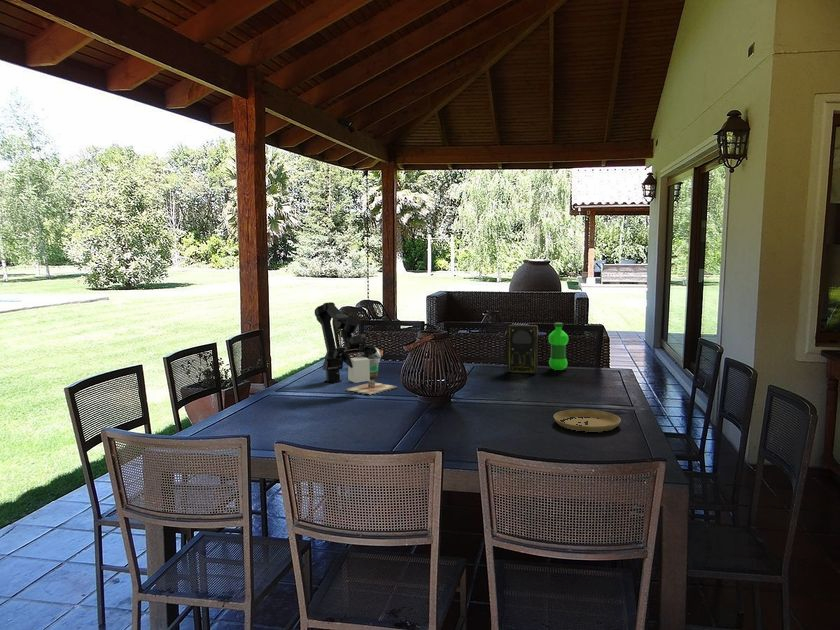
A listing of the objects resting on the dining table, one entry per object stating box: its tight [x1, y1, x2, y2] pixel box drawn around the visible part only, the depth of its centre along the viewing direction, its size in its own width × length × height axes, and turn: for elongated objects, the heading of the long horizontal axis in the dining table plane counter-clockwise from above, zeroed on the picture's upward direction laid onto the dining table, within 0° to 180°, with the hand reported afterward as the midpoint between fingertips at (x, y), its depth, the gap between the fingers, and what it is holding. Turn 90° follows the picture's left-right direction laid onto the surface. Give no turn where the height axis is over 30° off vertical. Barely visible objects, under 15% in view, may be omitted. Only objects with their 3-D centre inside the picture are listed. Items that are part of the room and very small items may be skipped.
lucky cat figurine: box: [354, 346, 384, 361], centre depth 352 cm, size 15×12×14 cm
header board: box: [345, 379, 398, 396], centre depth 296 cm, size 16×18×4 cm
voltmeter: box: [507, 324, 539, 375], centre depth 330 cm, size 16×9×25 cm, turn 73°
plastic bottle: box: [547, 322, 570, 371], centre depth 335 cm, size 10×10×25 cm
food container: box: [369, 357, 381, 380], centre depth 322 cm, size 12×6×10 cm, turn 143°
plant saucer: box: [553, 409, 622, 433], centre depth 234 cm, size 24×24×3 cm
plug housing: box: [347, 356, 371, 384], centre depth 287 cm, size 7×7×10 cm
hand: (360, 366), depth 286 cm, fingers closed on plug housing, 7 cm apart
